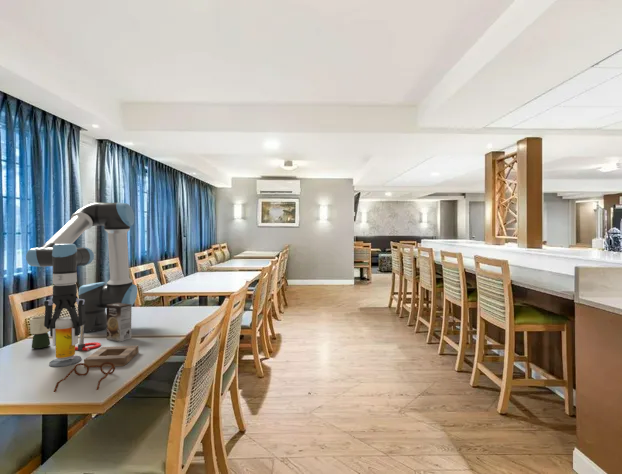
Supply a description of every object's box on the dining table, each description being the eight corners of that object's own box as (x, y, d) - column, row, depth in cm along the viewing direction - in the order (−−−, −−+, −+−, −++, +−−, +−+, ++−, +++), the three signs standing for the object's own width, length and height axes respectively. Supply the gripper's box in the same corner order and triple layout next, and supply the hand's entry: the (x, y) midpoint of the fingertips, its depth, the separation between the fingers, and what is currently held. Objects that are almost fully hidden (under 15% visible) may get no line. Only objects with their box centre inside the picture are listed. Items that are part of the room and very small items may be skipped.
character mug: (49, 349, 145) (49, 319, 145) (28, 352, 142) (27, 321, 141) (52, 342, 155) (52, 313, 154) (32, 345, 151) (32, 315, 151)
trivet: (59, 357, 136) (59, 356, 136) (86, 356, 137) (86, 355, 137) (42, 367, 126) (42, 365, 126) (72, 366, 127) (72, 364, 127)
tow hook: (88, 344, 154) (70, 350, 145) (89, 315, 154) (72, 319, 145) (105, 345, 152) (88, 351, 143) (106, 316, 153) (89, 320, 144)
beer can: (73, 358, 130) (73, 319, 130) (54, 361, 127) (53, 320, 127) (76, 353, 136) (75, 315, 136) (57, 356, 133) (56, 317, 133)
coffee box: (105, 339, 159) (105, 304, 159) (118, 335, 165) (118, 302, 165) (120, 341, 156) (119, 306, 156) (132, 337, 162) (131, 303, 162)
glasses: (115, 374, 121) (115, 360, 121) (97, 391, 108) (97, 375, 108) (75, 376, 119) (75, 362, 119) (52, 394, 106) (51, 378, 106)
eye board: (102, 354, 140) (102, 346, 140) (138, 352, 142) (138, 345, 142) (84, 367, 126) (84, 359, 126) (124, 365, 128) (124, 357, 128)
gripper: (30, 286, 126) (31, 348, 127) (86, 285, 129) (87, 346, 129) (44, 283, 134) (44, 342, 134) (96, 282, 136) (96, 340, 137)
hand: (65, 344), depth 132 cm, fingers closed on beer can, 6 cm apart
